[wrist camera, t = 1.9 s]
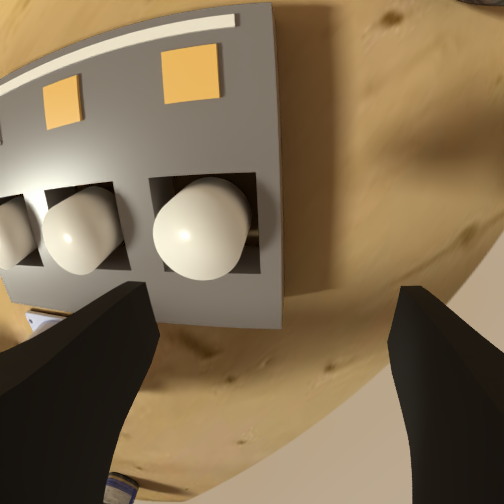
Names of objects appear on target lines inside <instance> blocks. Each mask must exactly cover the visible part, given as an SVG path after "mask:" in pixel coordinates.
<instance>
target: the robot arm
mask: <svg viewBox="0 0 504 504" xmlns="http://www.w3.org/2000/svg"><path fill="white" fill-rule="evenodd" d="M25 315H26V317H27V320H28V322H29V324H30V326H31V328H32V330H33V333H32V334H31V335H30V336H29V338H28V339H27V340H26V341H25V342H23V343H21V344H19V345H17V346H15V347H13V348H10V349H8V350H6V351H3V352H1V353H0V504H103V500H104V495H105V489H106V483H107V479H108V474H109V470H110V466H111V462H112V458H113V454H114V451H115V448H116V444H117V441H118V438H119V434H120V431H121V429H122V426H123V424H124V421H125V419H126V417H127V415H128V412H129V410H130V408H131V406H132V404H133V402H134V399H135V397H136V395H137V393H138V391H139V389H140V387H141V385H142V382H143V380H144V378H145V376H146V374H147V372H148V369H149V367H150V365H151V363H152V360H153V357H154V354H155V351H156V347H157V344H158V340H159V337H160V333H159V330H158V326H157V323H156V319H155V316H154V312H153V309H152V305H151V301H150V297H149V293H148V290H147V286H146V282H139V281H127V282H125V283H123V284H121V285H119V286H117V287H115V288H113V289H112V290H110V291H108V292H107V293H105V294H103V295H102V296H100V297H99V298H97V299H95V300H94V301H92V302H91V303H89V304H87V305H86V306H84V307H83V308H81V309H80V310H78V311H76V312H75V313H73V314H72V315H70V316H68V317H63V316H57V315H51V314H45V313H40V312H34V311H29V310H28V311H27V312H26V313H25ZM387 343H388V350H389V358H390V364H391V371H392V375H393V379H394V383H395V386H396V390H397V394H398V398H399V401H400V406H401V409H402V413H403V418H404V422H405V426H406V430H407V434H408V440H409V446H410V455H411V468H412V495H413V496H412V501H413V502H412V504H504V353H503V352H502V351H500V350H499V349H498V348H497V347H495V346H494V345H493V344H492V343H490V342H489V341H488V340H487V339H485V338H484V337H483V336H481V335H480V334H479V333H478V332H477V331H475V330H474V329H473V328H472V327H471V326H469V325H468V324H467V323H466V322H465V321H464V320H462V319H461V318H460V317H459V316H458V315H457V314H455V313H454V312H453V311H452V310H451V309H449V308H448V307H447V306H446V305H445V304H444V303H442V302H441V301H440V300H439V299H438V298H436V297H435V296H434V295H433V294H431V293H430V292H429V291H427V290H426V289H425V288H423V287H422V286H401V288H400V293H399V297H398V302H397V306H396V310H395V314H394V318H393V322H392V326H391V330H390V334H389V338H388V341H387Z"/></svg>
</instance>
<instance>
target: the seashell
mask: <svg viewBox="0 0 504 504" xmlns="http://www.w3.org/2000/svg"><path fill="white" fill-rule="evenodd" d="M458 1H461V2H465V3H469V4H475V5H486V6H504V0H458Z"/></svg>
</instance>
